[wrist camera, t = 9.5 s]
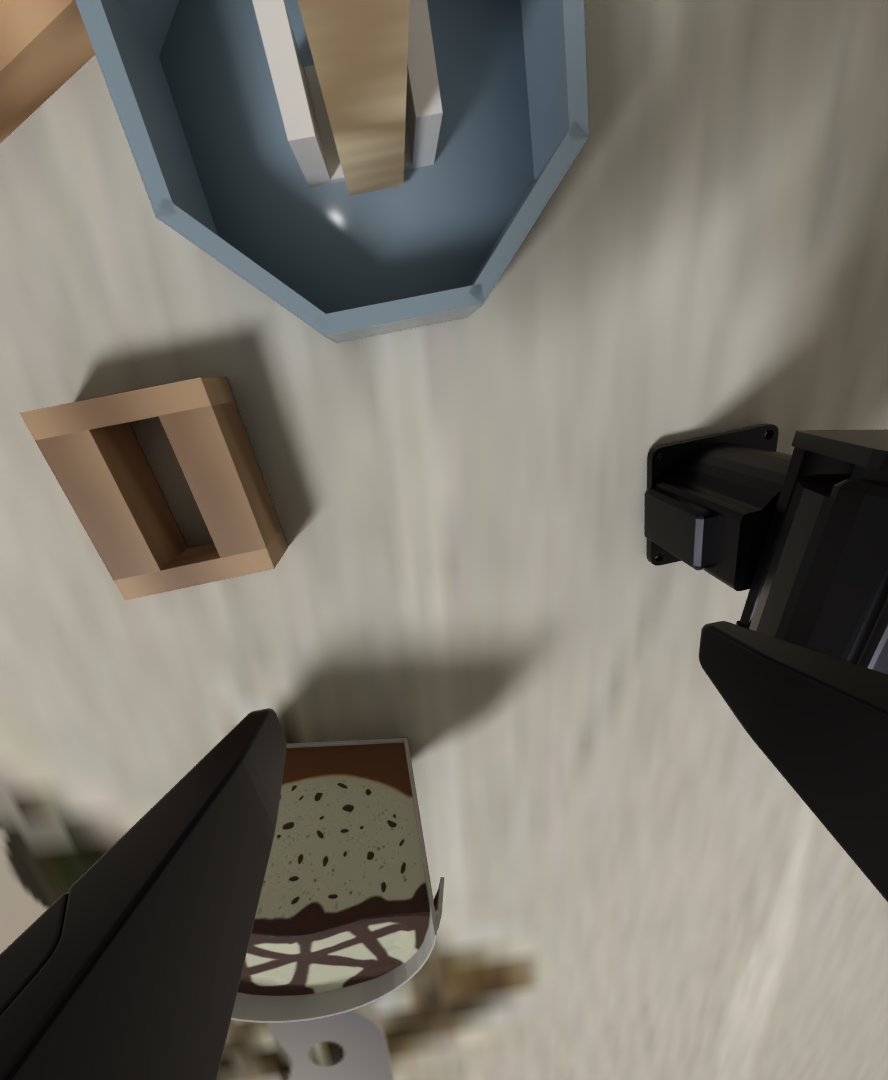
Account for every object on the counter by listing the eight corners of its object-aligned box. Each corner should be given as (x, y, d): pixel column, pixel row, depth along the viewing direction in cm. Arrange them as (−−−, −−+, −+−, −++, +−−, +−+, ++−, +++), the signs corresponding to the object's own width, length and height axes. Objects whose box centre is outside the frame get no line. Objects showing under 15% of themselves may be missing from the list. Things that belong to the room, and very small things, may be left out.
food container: (239, 816, 27) (157, 1045, 18) (226, 746, 25) (124, 967, 15) (427, 803, 28) (442, 1009, 19) (430, 736, 26) (449, 933, 17)
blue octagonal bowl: (518, -183, 13) (569, -415, 9) (553, 302, 18) (594, 282, 14) (87, -114, 12) (-47, -325, 9) (248, 362, 17) (208, 358, 14)
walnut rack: (226, 377, 17) (200, 377, 15) (288, 547, 20) (274, 568, 18) (69, 408, 17) (19, 412, 15) (155, 574, 20) (124, 600, 18)
